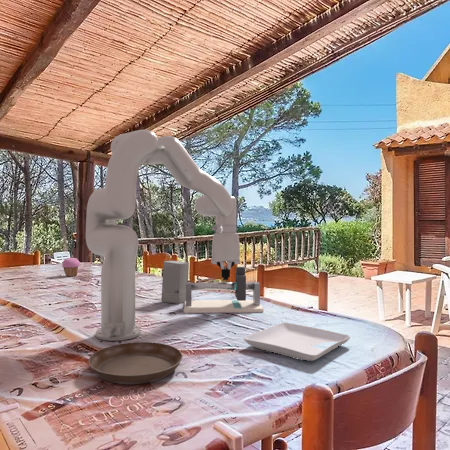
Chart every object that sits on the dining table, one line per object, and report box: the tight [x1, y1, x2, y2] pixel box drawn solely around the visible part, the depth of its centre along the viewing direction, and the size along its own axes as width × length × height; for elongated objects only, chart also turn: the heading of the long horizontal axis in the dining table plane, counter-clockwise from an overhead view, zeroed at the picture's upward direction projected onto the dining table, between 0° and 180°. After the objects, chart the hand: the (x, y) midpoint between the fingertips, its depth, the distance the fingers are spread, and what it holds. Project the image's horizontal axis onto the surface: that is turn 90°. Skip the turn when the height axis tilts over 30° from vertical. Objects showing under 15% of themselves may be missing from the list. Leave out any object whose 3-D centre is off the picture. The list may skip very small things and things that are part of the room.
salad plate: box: [243, 322, 351, 362], centre depth 108 cm, size 21×21×3 cm
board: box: [183, 299, 264, 314], centre depth 151 cm, size 14×28×1 cm, turn 94°
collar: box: [234, 266, 247, 301], centre depth 151 cm, size 9×3×11 cm, turn 4°
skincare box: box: [161, 260, 190, 305], centre depth 160 cm, size 8×7×16 cm
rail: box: [186, 281, 261, 306], centre depth 151 cm, size 4×27×8 cm, turn 94°
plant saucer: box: [87, 341, 184, 385], centre depth 92 cm, size 21×21×3 cm
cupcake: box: [61, 257, 81, 277], centre depth 219 cm, size 9×9×10 cm
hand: (225, 279), depth 150 cm, fingers closed
